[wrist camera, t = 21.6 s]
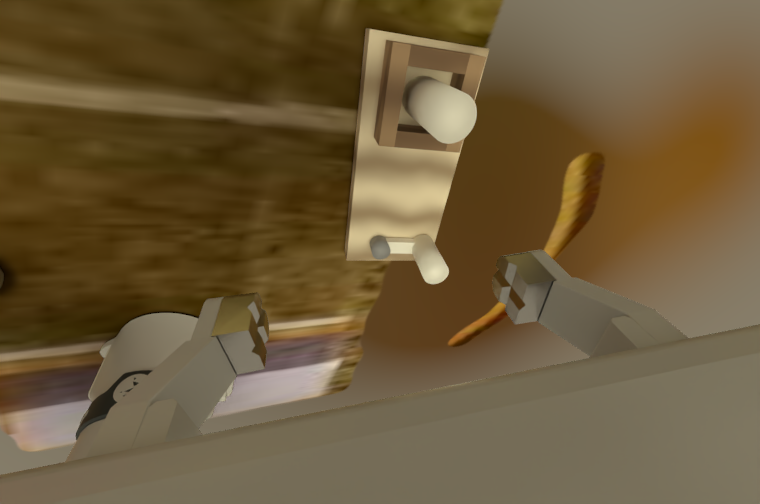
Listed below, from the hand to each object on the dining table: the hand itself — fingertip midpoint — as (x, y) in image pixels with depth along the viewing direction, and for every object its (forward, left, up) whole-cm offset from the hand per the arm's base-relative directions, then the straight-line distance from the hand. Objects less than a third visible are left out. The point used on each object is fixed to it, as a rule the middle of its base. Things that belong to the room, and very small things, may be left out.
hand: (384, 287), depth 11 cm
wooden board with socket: (-6, -9, -29) cm, 31 cm away
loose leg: (+2, -9, -27) cm, 28 cm away
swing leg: (-16, -10, -26) cm, 33 cm away
